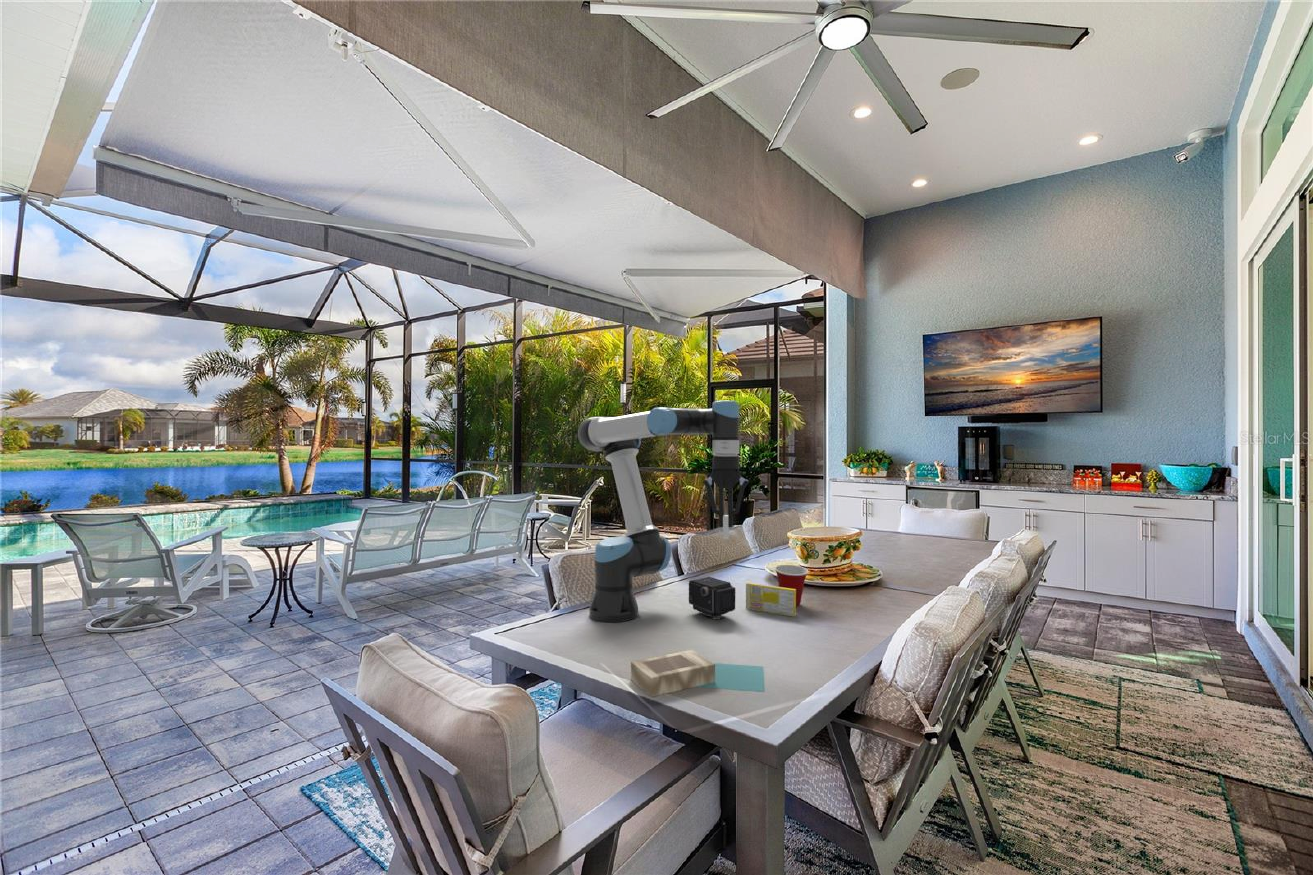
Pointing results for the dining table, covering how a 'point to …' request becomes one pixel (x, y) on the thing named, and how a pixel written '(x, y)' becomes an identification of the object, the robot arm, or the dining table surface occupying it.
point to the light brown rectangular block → (672, 672)
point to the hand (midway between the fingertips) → (725, 538)
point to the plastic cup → (792, 579)
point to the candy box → (771, 599)
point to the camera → (712, 596)
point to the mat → (737, 677)
